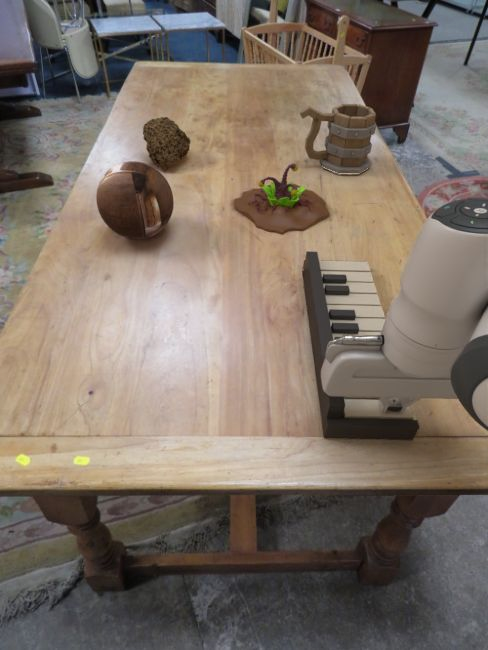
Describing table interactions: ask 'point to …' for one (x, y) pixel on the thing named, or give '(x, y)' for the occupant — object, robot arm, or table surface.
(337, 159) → the tankard
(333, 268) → the low key
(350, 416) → the white piano key
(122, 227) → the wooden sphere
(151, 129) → the brown porous lump
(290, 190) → the plant
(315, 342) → the keyboard
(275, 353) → the table surface
